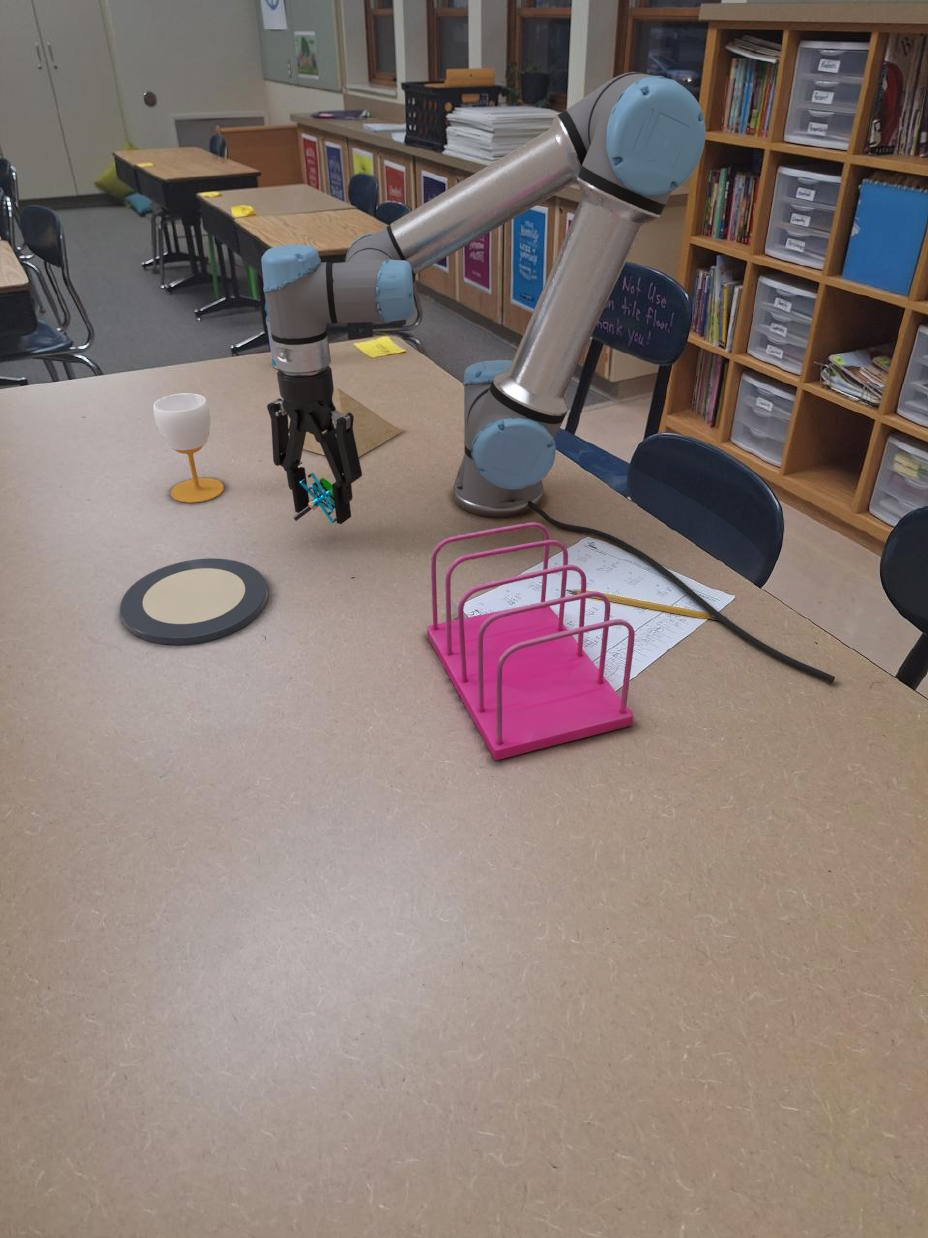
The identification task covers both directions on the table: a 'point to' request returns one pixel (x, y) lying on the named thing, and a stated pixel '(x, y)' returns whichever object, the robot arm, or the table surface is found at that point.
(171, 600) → the plate
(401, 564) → the table surface
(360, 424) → the model pyramid
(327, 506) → the spiky blue green toy
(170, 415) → the cup
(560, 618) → the file sorter
